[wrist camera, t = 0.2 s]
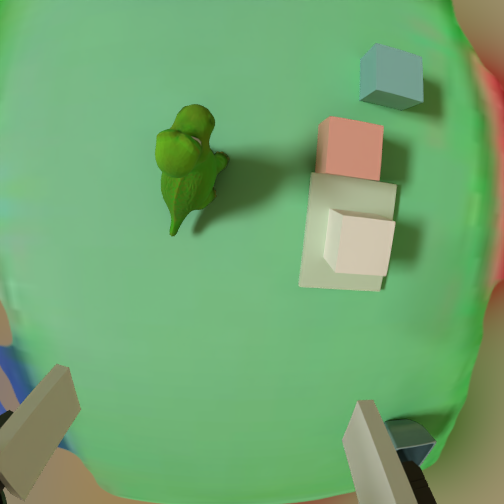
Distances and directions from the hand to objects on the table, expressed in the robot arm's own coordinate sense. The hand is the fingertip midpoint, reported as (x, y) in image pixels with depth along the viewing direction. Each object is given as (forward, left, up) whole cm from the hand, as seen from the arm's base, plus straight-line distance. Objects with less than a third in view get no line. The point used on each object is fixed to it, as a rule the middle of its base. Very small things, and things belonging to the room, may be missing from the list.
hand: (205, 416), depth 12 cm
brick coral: (-14, +11, -27) cm, 33 cm away
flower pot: (+31, +30, -28) cm, 51 cm away
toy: (-9, -6, -28) cm, 30 cm away
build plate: (-4, +13, -27) cm, 31 cm away
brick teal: (-24, +16, -27) cm, 40 cm away
